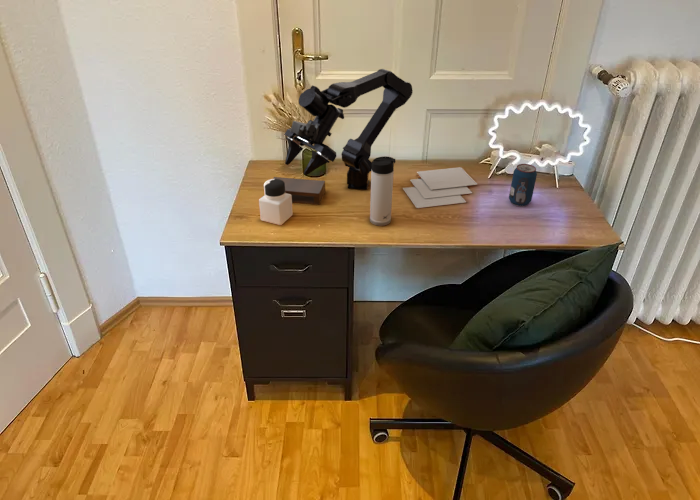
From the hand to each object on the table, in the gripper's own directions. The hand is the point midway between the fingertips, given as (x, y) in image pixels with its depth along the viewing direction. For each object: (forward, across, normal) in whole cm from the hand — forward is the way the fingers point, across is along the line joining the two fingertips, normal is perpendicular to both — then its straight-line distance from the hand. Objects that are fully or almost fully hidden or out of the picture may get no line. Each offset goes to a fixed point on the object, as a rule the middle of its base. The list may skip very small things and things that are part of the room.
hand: (295, 169), depth 159 cm
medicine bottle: (+15, 0, +4) cm, 16 cm away
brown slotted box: (+6, -7, +13) cm, 16 cm away
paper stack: (-21, +19, +42) cm, 50 cm away
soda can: (-28, +42, +50) cm, 71 cm away
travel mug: (0, +22, +20) cm, 30 cm away
